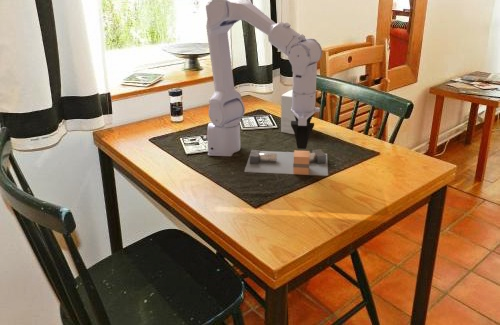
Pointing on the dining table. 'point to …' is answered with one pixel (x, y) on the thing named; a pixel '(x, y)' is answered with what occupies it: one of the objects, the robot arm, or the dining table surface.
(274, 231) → the dining table surface
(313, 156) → the output shaft
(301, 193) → the dining table surface
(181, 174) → the dining table surface
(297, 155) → the taped shipping carton
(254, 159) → the input shaft
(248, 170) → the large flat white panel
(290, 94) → the supplement box
